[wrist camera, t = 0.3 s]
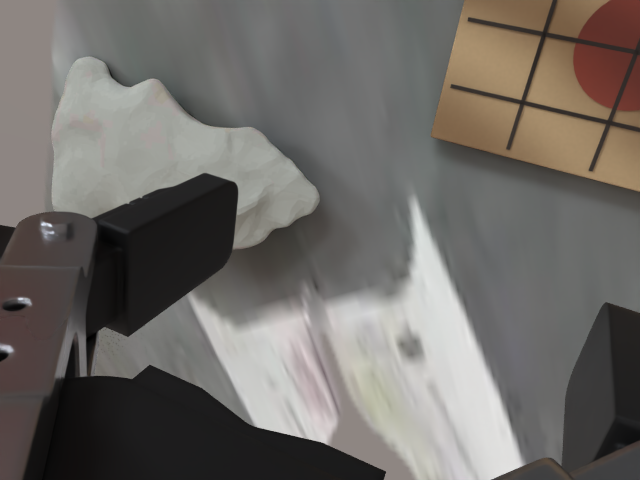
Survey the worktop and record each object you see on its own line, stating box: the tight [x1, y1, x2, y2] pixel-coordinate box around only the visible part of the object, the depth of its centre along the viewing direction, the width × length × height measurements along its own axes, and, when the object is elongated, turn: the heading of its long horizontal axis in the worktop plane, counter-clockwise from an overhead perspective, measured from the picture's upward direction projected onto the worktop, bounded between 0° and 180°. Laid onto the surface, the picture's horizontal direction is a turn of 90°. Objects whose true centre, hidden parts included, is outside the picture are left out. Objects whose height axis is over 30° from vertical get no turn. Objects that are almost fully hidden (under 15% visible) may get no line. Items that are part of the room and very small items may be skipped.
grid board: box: [431, 0, 640, 192], centre depth 32 cm, size 15×20×1 cm
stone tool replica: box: [51, 56, 320, 250], centre depth 46 cm, size 15×5×25 cm
